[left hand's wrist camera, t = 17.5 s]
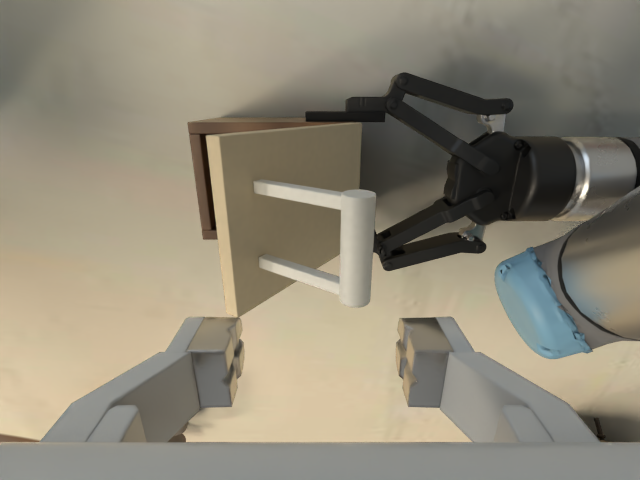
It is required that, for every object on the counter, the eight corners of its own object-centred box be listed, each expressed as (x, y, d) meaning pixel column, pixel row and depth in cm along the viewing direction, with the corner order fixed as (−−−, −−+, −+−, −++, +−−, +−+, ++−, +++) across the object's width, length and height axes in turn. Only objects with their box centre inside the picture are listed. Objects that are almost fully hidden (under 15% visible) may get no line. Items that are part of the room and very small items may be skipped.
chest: (228, 210, 40) (202, 239, 32) (219, 117, 37) (187, 122, 28) (345, 210, 40) (351, 240, 32) (348, 117, 37) (356, 122, 28)
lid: (225, 312, 21) (342, 368, 16) (205, 135, 17) (349, 146, 13) (347, 241, 31) (437, 263, 27) (351, 122, 28) (456, 126, 23)
